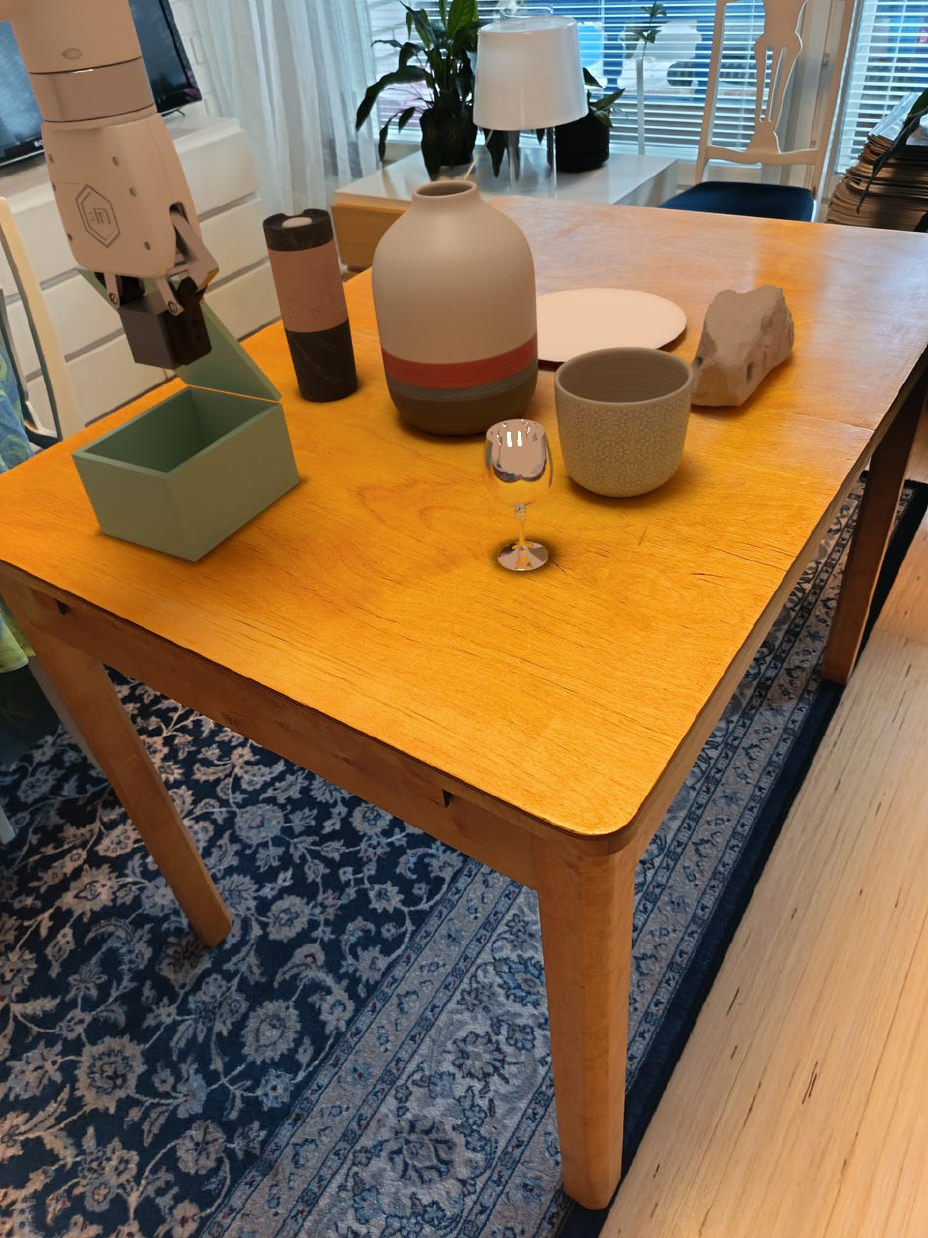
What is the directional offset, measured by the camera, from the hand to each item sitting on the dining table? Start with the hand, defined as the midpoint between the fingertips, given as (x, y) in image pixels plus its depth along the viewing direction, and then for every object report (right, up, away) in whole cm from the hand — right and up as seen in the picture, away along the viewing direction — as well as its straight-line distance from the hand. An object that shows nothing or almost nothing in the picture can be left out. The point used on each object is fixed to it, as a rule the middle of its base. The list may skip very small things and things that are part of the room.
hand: (172, 351), depth 73 cm
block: (0, 0, 0) cm, 0 cm away
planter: (+39, -8, +16) cm, 43 cm away
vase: (+24, +2, +30) cm, 39 cm away
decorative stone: (+54, +5, +30) cm, 62 cm away
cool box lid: (-3, +4, +11) cm, 12 cm away
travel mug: (+7, +7, +39) cm, 40 cm away
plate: (+39, +16, +45) cm, 62 cm away
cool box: (-3, -10, +19) cm, 21 cm away
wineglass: (+29, -16, +7) cm, 34 cm away
